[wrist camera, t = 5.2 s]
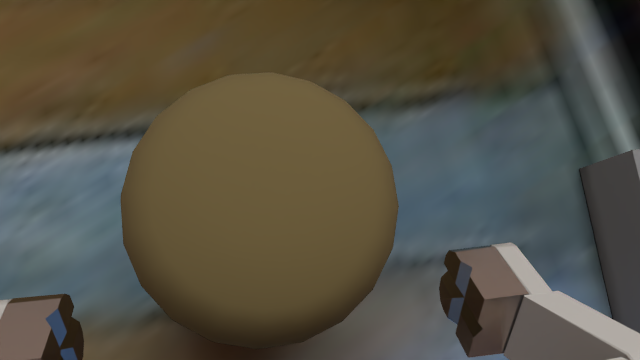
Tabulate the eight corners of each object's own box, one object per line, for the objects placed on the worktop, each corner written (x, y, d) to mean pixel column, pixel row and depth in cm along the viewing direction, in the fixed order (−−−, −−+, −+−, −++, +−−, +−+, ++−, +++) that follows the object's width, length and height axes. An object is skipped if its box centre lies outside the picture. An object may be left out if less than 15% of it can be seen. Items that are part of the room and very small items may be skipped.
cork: (163, 330, 18) (41, 393, 7) (176, 163, 19) (91, 2, 8) (332, 331, 18) (454, 388, 8) (334, 172, 20) (440, 35, 9)
